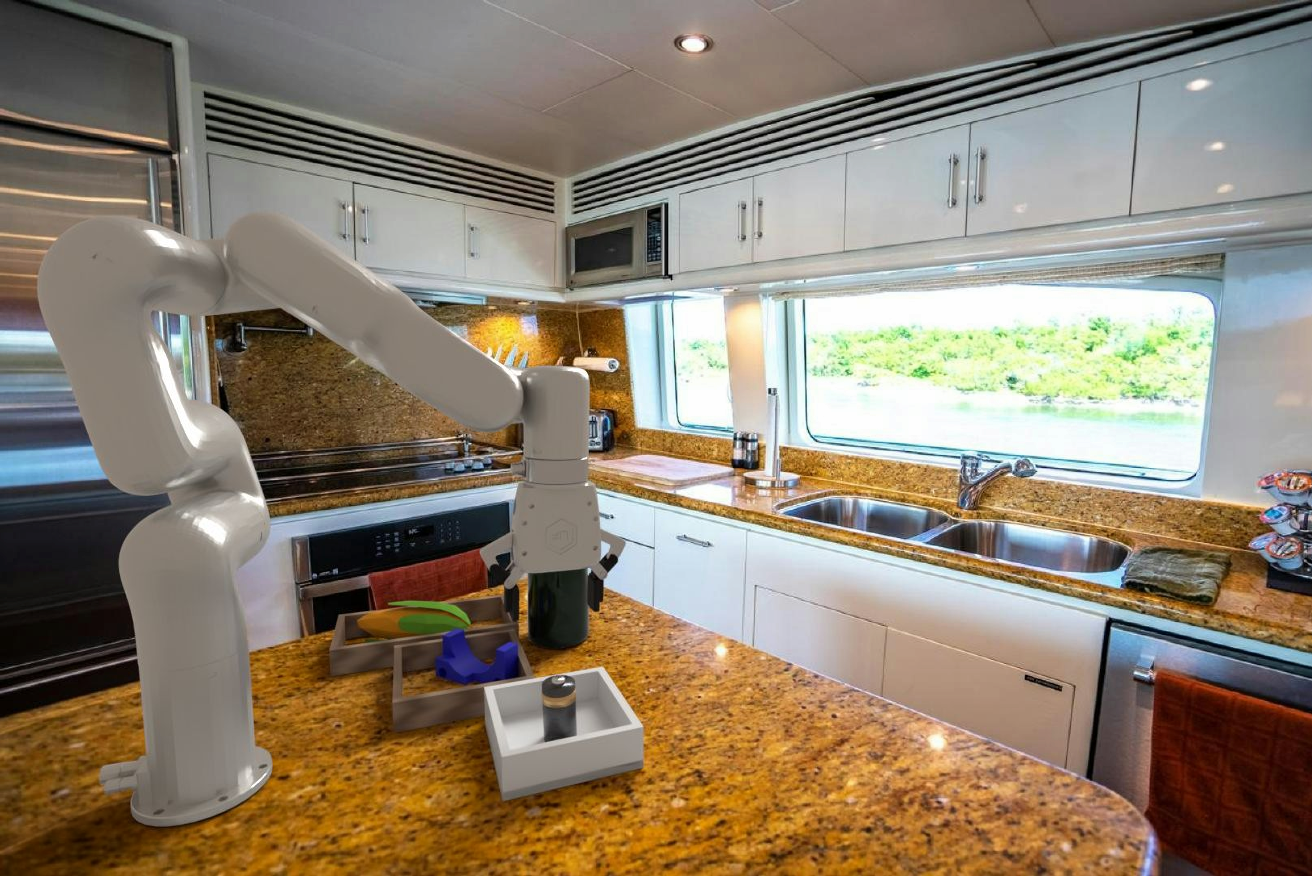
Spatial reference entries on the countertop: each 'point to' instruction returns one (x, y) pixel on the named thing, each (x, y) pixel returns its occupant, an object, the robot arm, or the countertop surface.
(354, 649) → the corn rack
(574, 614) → the dark green wine bottle
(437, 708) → the brown hollow square frame
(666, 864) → the countertop surface
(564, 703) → the battery cell
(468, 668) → the cable clip
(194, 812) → the robot arm
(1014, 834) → the countertop surface
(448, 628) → the corn
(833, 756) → the countertop surface
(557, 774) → the bin
